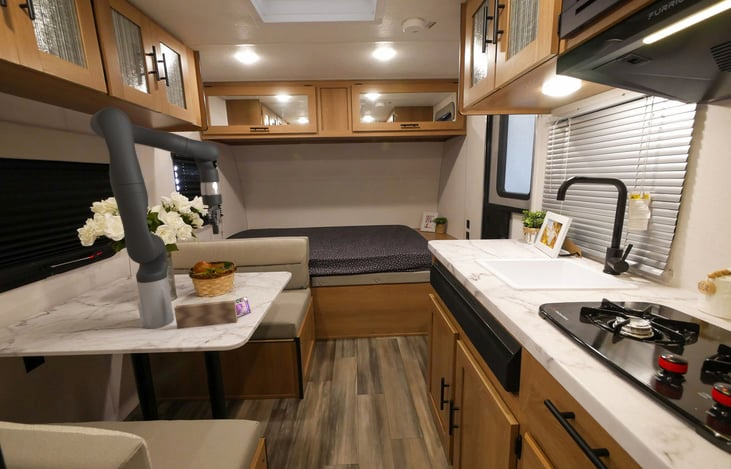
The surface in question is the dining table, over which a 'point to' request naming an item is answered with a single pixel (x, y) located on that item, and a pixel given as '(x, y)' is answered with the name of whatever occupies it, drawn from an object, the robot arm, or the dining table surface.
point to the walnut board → (206, 314)
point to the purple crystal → (240, 306)
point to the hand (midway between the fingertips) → (216, 234)
